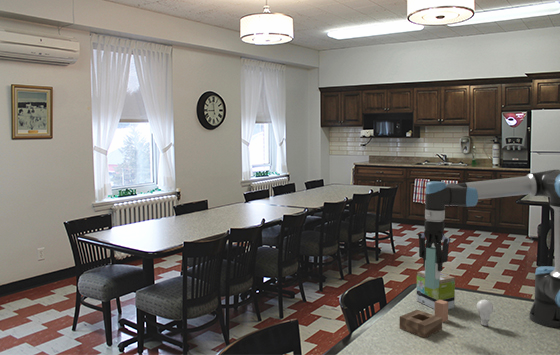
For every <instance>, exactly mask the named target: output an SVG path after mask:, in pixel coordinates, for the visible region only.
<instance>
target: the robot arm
mask: <svg viewBox="0 0 560 355" xmlns="http://www.w3.org/2000/svg"><path fill="white" fill-rule="evenodd" d="M425 187H426V188H425V192H424V193H425V204H424V205H425V207H424V208H425V210H424V219H425V220H424V226H423V227H424V231H423V232H420V233H418V234H417V237H418V253H419V254H418V256H419V258H421V259H422V261H423V263H422V266H423V268H424V270H425V269H426V248H429V247H435V249H436V257H437V262H436V263H435V279H439V278H440V272H441V271H443V264H444V263H447V262H448V260H449V259H448V258H449V245H450V242H451V238H450V237H446V236H445V233H444V231H445V221H444V220H445V218H446V206H447V207H450V206H451V207H467V208H468V207H475V206H477V204H478V202H479V201H478V200H484V199H495V198H503V197H512V196H513V197H515V196H524V195H529V196H530V197H547V198H549V206H550V207H551V208H552V209H553V212H554V213H553V215H554V216H553V218H554V221H553V225H554V227H553V228H554V235H553V236H554V266H548V265H547V266H545V265H543V266H538V267H536V269H535V274H534V275H535V276H534V277H535V278H534V300H533V303H532V305H531V308H530V310H529V313H528V318H529V319H530V321H532V322H534V323H536V324H538V325H541V326H545V327H550V328H560V169H550V170H545V171H539V172H531V173H528V174H526V175H525V176H515V177H509V178H508V177H506V178H498V179H487V180H477V181H470V182H461V183H454V182H451V183H450V182H449V183H446V182H444V181H438V180H436V181H435V180H433V181H431V180H430V181H428V182H427V183H426V186H425ZM433 245H434V246H433ZM441 273H442V272H441Z"/></svg>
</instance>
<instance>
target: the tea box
mask: <svg viewBox="0 0 560 355" xmlns="http://www.w3.org/2000/svg"><path fill="white" fill-rule="evenodd" d="M455 289H456V277H455V276H451V275H448V274H446V273H443V272H440V280H439V288H436V289H431V288H428V287H425V270H421V271H417V272H416V302H419V303H421V304H423V305H425V306H426V307H430V308H431V309H434V310H435V301H437V300H443V301H447V302H448V310H451V309H454V308H455V297H456V294H455V293H456V290H455Z"/></svg>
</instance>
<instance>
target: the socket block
mask: <svg viewBox="0 0 560 355" xmlns="http://www.w3.org/2000/svg"><path fill="white" fill-rule="evenodd" d="M399 329H401V330H403V331H405V332H408V333H411V334H413V335H416V336H418V337H421V338H424V339H425V338H428V337H430V336H432V335H434V334H437V333H438V332H441V331H442V330H443V322H442V318H441V317H438V316H435V314H432V313H428V312H425V311H423V310H420V309H415V310H412V311H411V312H407V313H405V314H403V315H400V316H399Z"/></svg>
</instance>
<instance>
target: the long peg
mask: <svg viewBox="0 0 560 355" xmlns="http://www.w3.org/2000/svg"><path fill="white" fill-rule="evenodd" d="M436 262H437V257H436V249H435V246H432V247H429V248H426V269H425V268H424V271H425V287H428V288H431V289H436V288H439V280H440V278H439V279H435V263H436Z"/></svg>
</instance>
